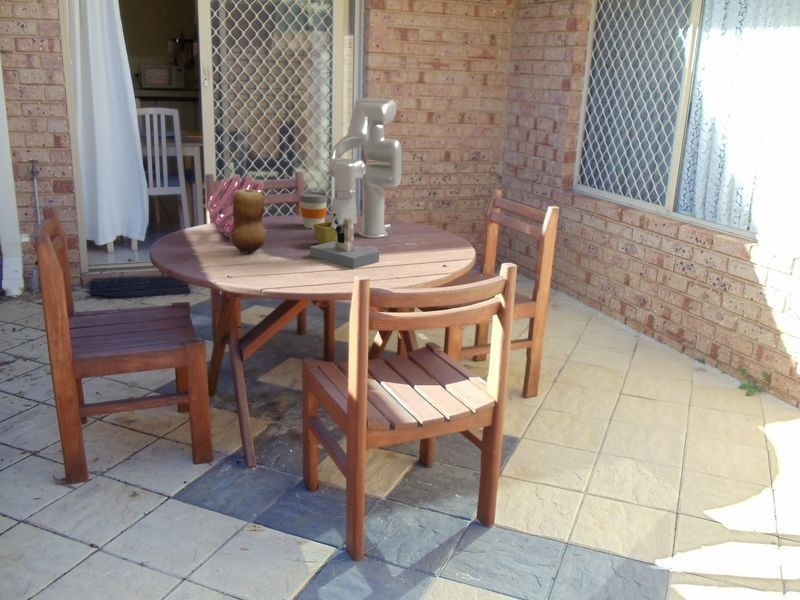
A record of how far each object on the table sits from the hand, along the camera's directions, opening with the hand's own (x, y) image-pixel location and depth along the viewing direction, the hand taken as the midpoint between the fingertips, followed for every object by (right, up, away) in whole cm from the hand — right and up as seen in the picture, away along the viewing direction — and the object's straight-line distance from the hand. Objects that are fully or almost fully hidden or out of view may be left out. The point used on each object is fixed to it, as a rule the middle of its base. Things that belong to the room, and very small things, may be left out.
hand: (344, 241), depth 285 cm
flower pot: (-9, 0, +22) cm, 24 cm away
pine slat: (0, -6, +2) cm, 7 cm away
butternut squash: (-39, -4, +9) cm, 40 cm away
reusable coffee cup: (-18, +11, +55) cm, 59 cm away
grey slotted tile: (0, -7, +2) cm, 7 cm away
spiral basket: (-49, +5, +33) cm, 59 cm away
